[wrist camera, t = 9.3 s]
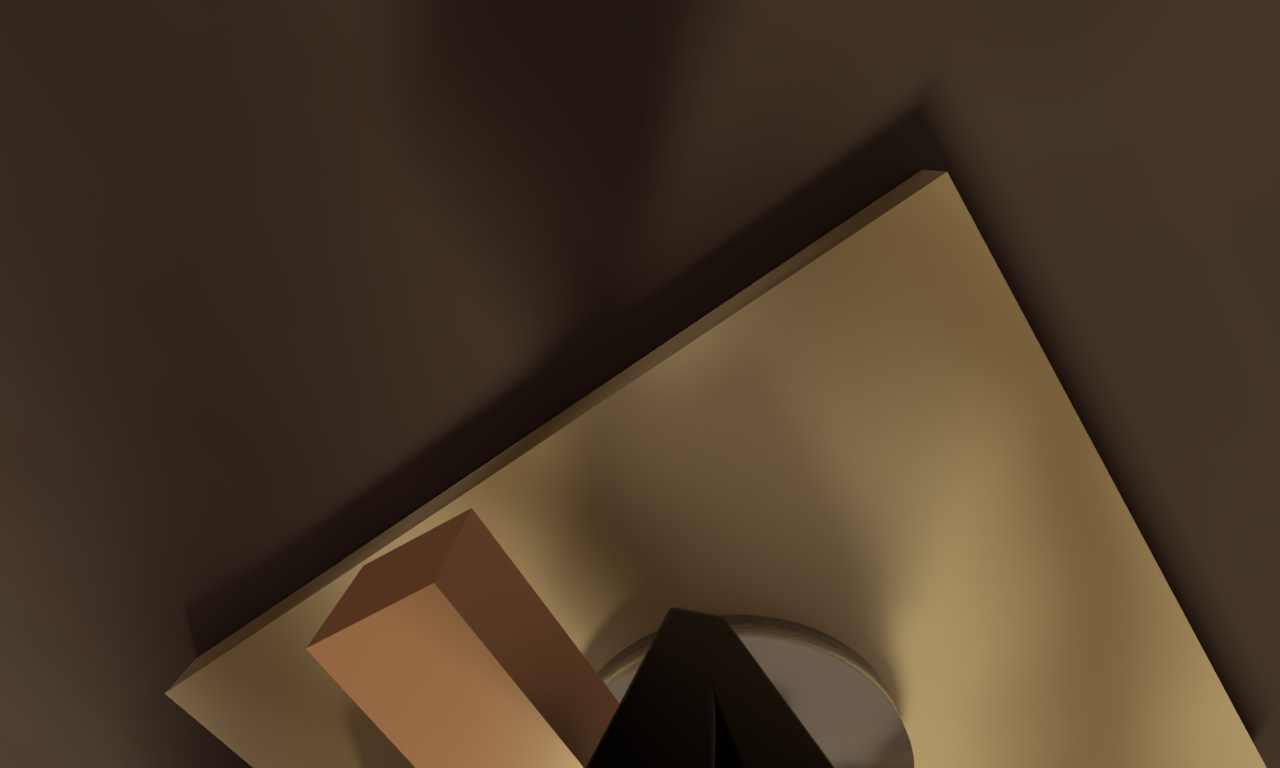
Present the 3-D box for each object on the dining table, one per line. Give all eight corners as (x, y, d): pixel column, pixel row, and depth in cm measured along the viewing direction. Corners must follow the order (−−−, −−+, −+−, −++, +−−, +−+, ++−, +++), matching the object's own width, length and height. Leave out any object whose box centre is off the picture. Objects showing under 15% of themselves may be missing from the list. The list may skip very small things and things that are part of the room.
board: (616, 1026, 19) (614, 1072, 18) (195, 658, 15) (164, 693, 14) (1247, 764, 15) (1286, 804, 14) (922, 169, 11) (947, 172, 10)
